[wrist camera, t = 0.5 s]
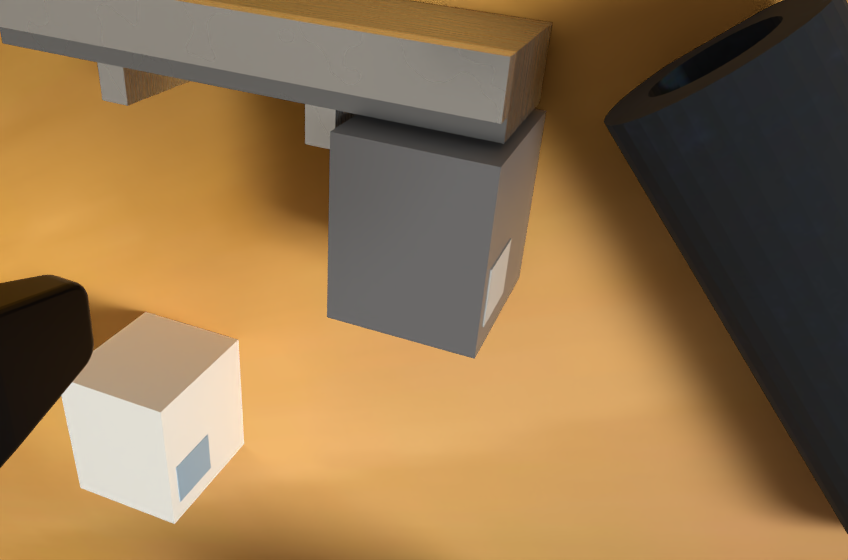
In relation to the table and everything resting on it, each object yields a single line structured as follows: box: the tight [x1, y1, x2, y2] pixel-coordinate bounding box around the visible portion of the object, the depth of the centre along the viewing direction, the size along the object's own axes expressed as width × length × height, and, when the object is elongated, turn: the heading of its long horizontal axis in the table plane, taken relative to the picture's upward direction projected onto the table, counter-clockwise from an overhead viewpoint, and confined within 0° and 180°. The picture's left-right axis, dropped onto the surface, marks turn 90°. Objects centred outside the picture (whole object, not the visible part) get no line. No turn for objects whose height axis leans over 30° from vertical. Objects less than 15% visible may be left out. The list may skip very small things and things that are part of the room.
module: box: [61, 312, 244, 524], centre depth 27 cm, size 5×4×4 cm
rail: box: [0, 0, 552, 149], centre depth 20 cm, size 3×14×4 cm, turn 85°
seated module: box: [327, 109, 546, 359], centre depth 20 cm, size 5×4×4 cm
